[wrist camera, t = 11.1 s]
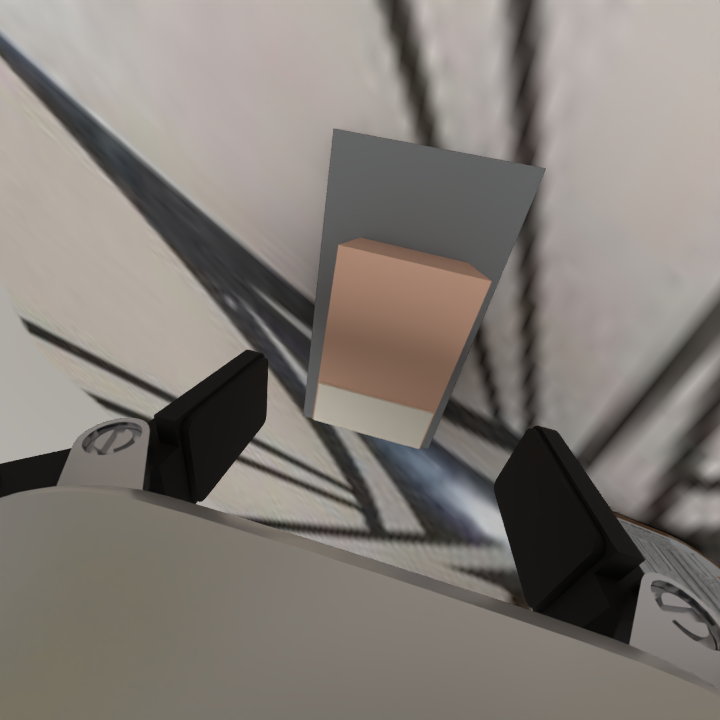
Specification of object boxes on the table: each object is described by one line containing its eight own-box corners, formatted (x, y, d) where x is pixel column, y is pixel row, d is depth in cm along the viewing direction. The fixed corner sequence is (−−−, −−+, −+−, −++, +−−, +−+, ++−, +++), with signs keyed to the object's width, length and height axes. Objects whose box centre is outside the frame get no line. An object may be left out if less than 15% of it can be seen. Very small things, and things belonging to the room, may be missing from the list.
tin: (514, 498, 23) (562, 633, 15) (538, 475, 21) (604, 612, 14) (683, 563, 23) (812, 730, 15) (719, 545, 21) (882, 719, 14)
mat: (427, 443, 21) (427, 449, 21) (306, 411, 22) (303, 416, 22) (540, 170, 13) (546, 168, 12) (336, 132, 14) (333, 128, 13)
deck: (468, 262, 15) (492, 281, 10) (418, 396, 19) (419, 451, 14) (360, 237, 15) (337, 245, 11) (335, 373, 19) (311, 420, 15)
